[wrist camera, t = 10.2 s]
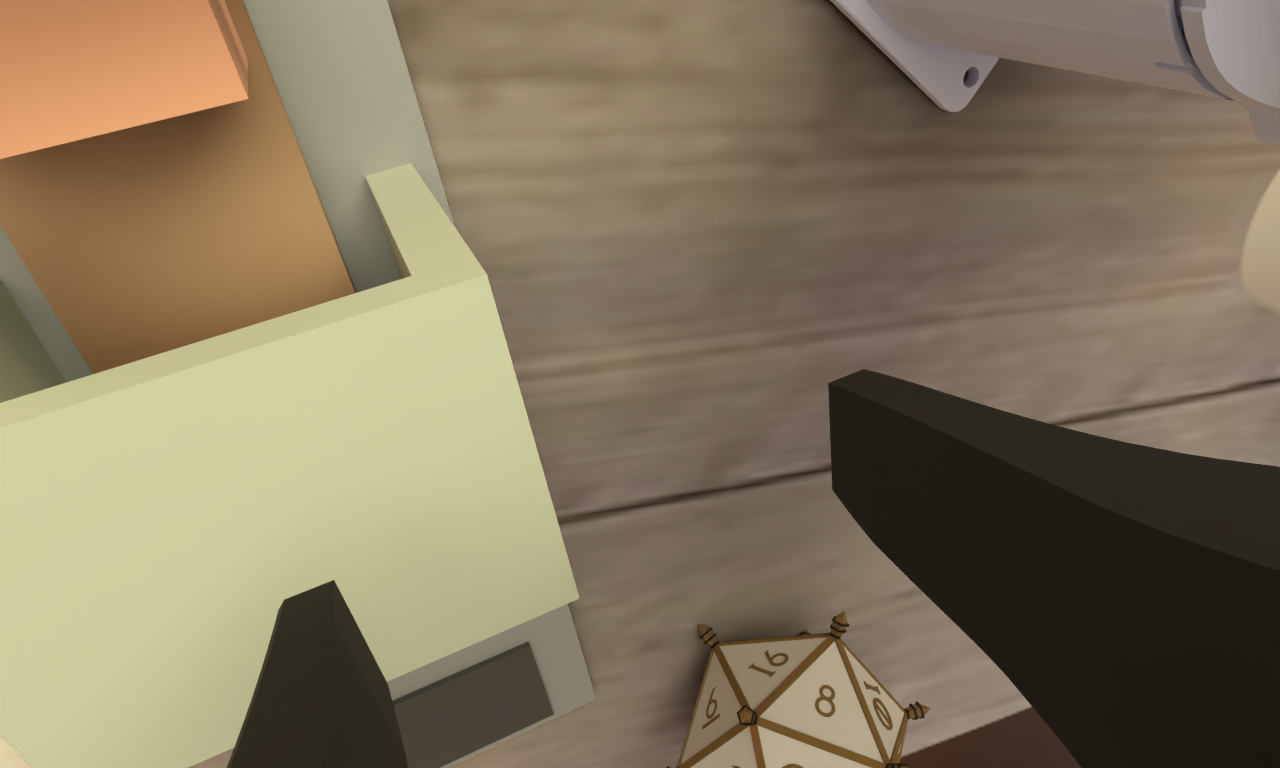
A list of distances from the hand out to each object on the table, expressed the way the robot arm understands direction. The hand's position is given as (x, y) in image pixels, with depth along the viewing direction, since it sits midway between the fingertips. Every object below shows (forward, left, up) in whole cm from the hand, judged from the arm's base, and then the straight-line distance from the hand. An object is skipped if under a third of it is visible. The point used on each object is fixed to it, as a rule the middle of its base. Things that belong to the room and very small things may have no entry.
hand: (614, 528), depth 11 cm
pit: (+13, +6, -10) cm, 18 cm away
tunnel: (+4, -3, -10) cm, 11 cm away
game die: (+9, +17, -11) cm, 22 cm away
